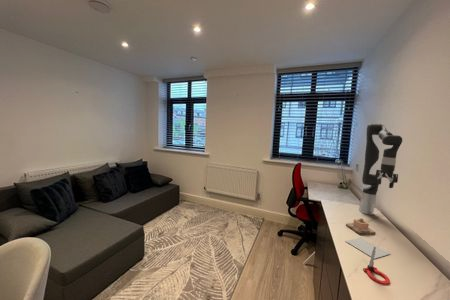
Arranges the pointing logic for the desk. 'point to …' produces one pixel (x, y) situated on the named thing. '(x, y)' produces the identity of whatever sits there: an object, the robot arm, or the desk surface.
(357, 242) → the grey flat panel
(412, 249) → the desk surface
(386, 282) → the tow hook
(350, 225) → the post stand
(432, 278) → the desk surface
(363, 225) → the collar
